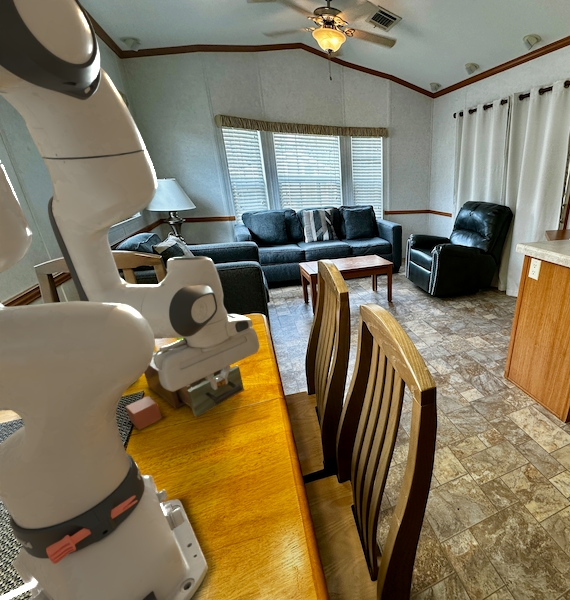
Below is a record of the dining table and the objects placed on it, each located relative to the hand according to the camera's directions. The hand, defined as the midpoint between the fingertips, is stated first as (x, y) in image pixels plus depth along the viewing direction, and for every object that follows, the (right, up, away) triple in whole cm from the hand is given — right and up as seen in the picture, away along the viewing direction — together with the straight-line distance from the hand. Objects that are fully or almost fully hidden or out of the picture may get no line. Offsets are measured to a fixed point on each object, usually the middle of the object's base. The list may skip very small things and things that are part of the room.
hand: (220, 386), depth 74 cm
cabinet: (-15, -3, +12) cm, 20 cm away
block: (-17, -8, 0) cm, 18 cm away
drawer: (-5, -4, +6) cm, 9 cm away
